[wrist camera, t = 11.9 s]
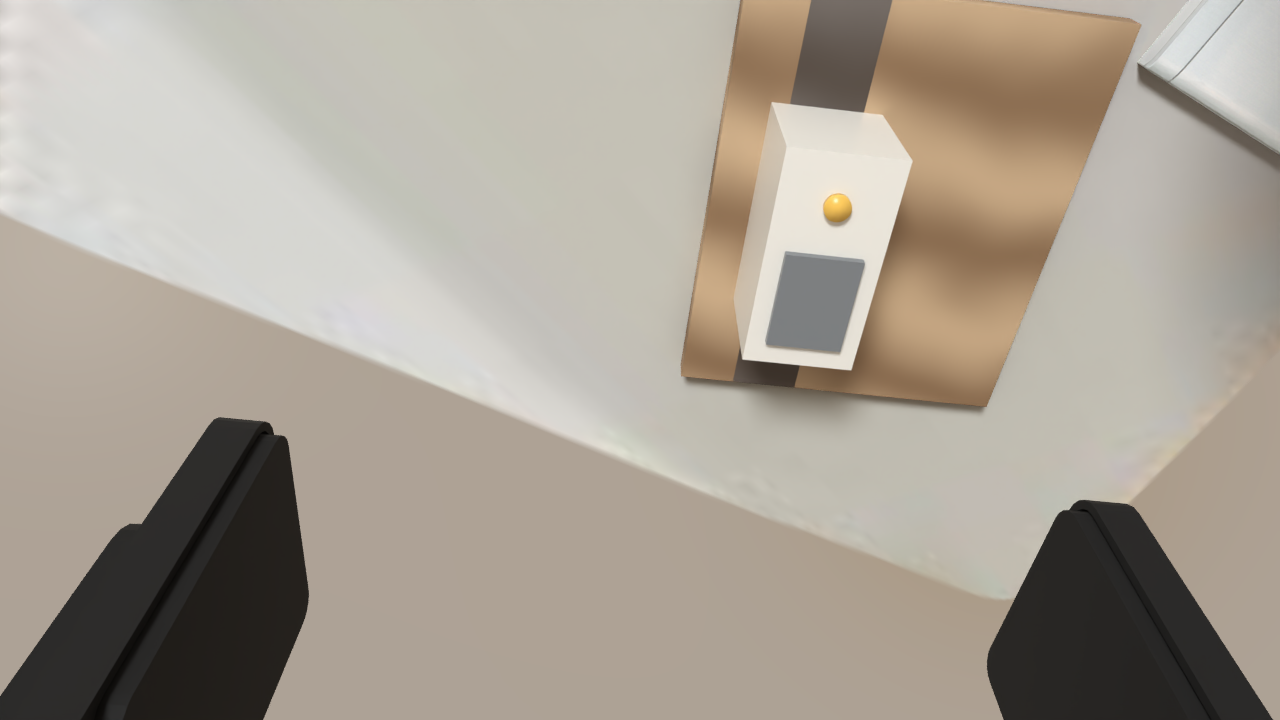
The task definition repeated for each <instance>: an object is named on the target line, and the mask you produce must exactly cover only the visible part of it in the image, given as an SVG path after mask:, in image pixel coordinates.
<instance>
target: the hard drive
mask: <svg viewBox="0 0 1280 720" xmlns="http://www.w3.org/2000/svg"><path fill="white" fill-rule="evenodd" d="M1137 63H1138V64H1140V65H1141V66H1143V67H1144V68H1145V69H1147V70H1148V71H1150V72H1151V73H1153V74H1154V75H1156V76H1157V77H1159V78H1161V79H1162V80H1164V81H1166V82H1167V83H1168V84H1170V85H1172V86H1173V87H1175V88H1176V89H1178V90H1179V91H1181V92H1182V93H1184V94H1185V95H1187V96H1188V97H1190V98H1192V99H1193V100H1195V101H1196V102H1198V103H1199V104H1201V105H1202V106H1204V107H1206V108H1207V109H1209V110H1210V111H1212V112H1213V113H1215V114H1216V115H1218V116H1219V117H1221V118H1223V119H1224V120H1226V121H1227V122H1229V123H1230V124H1232V125H1234V126H1235V127H1237V128H1238V129H1240V130H1241V131H1243V132H1244V133H1246V134H1247V135H1249V136H1251V137H1252V138H1254V139H1255V140H1257V141H1258V142H1260V143H1261V144H1263V145H1265V146H1266V147H1268V148H1269V149H1271V150H1272V151H1274V152H1276V153H1277V154H1279V155H1280V0H1188V2H1187V3H1186V4H1185V5H1184V6H1183V8H1182V9H1181V10H1180V11H1179V13H1178V14H1177V15H1176V16H1175V17H1174V19H1173V20H1172V21H1171V22H1170V23H1169V25H1168V26H1167V27H1166V28H1165V30H1164V31H1163V32H1162V33H1161V34H1160V36H1159V37H1158V38H1157V39H1156V40H1155V42H1154V43H1153V44H1152V45H1151V46H1150V48H1149V49H1148V50H1147V51H1146V52H1145V54H1144V55H1143V56H1142V57H1141V58H1140V59H1139V61H1138V62H1137Z"/></svg>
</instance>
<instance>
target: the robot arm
mask: <svg viewBox="0 0 1280 720" xmlns="http://www.w3.org/2000/svg"><path fill="white" fill-rule="evenodd" d="M308 598H309V590H308V582H307V575H306V568H305V561H304V554H303V546H302V539H301V532H300V525H299V518H298V510H297V503H296V496H295V489H294V482H293V474H292V467H291V460H290V453H289V445H288V441H287V439H286V438H285V437H284V436H279V435H274V433H273V428H272V427H271V425H270V423H267V422H263V421H252V420H242V419H231V418H221V417H220V418H217V419H214V420H213V422H212V423H211V424H210V425H209V426H208V428H207V429H206V430H205V432H204V434H203V435H202V436H201V438H200V439H199V441H198V442H197V444H196V445H195V447H194V448H193V450H192V451H191V453H190V454H189V455H188V457H187V458H186V460H185V461H184V463H183V464H182V466H181V467H180V469H179V470H178V472H177V473H176V474H175V476H174V477H173V479H172V480H171V482H170V483H169V485H168V486H167V488H166V489H165V491H164V492H163V494H162V495H161V496H160V498H159V499H158V501H157V502H156V504H155V505H154V507H153V508H152V510H151V511H150V513H149V514H148V515H147V517H146V519H145V520H144V521H143V523H142V524H129V525H127V526H125V527H124V528H122V529H120V530H119V532H118V533H117V534H116V535H115V536H114V537H113V538H112V539H111V541H110V542H109V543H108V545H107V546H106V548H105V549H104V551H103V552H102V553H101V555H100V556H99V558H98V559H97V560H96V562H95V563H94V565H93V566H92V568H91V569H90V570H89V572H88V573H87V574H86V576H85V577H84V579H83V580H82V581H81V583H80V584H79V586H78V587H77V589H76V590H75V591H74V593H73V594H72V596H71V597H70V598H69V600H68V601H67V603H66V604H65V605H64V607H63V608H62V610H61V611H60V613H59V614H58V615H57V617H56V618H55V620H54V621H53V622H52V624H51V625H50V627H49V628H48V630H47V631H46V632H45V634H44V635H43V637H42V638H41V639H40V641H39V642H38V644H37V645H36V646H35V648H34V649H33V651H32V652H31V654H30V655H29V656H28V658H27V659H26V661H25V662H24V663H23V665H22V666H21V668H20V669H19V670H18V672H17V673H16V675H15V676H14V678H13V679H12V680H11V682H10V683H9V684H8V686H7V688H6V689H5V690H4V692H3V693H2V694H1V696H0V720H263V718H264V716H265V714H266V711H267V709H268V707H269V704H270V702H271V699H272V697H273V694H274V692H275V690H276V687H277V685H278V682H279V680H280V677H281V675H282V673H283V670H284V668H285V665H286V663H287V660H288V658H289V656H290V653H291V651H292V649H293V646H294V644H295V641H296V639H297V637H298V634H299V632H300V629H301V627H302V624H303V622H304V619H305V615H306V612H307V606H308ZM987 670H988V677H989V680H990V683H991V686H992V689H993V691H994V694H995V697H996V700H997V702H998V705H999V708H1000V711H1001V713H1002V716H1003V719H1004V720H1273V719H1272V718H1271V716H1270V715H1269V713H1268V711H1267V710H1266V708H1265V707H1264V705H1263V704H1262V702H1261V701H1260V699H1259V698H1258V696H1257V695H1256V693H1255V691H1254V690H1253V689H1252V687H1251V685H1250V684H1249V682H1248V681H1247V679H1246V678H1245V676H1244V674H1243V673H1242V671H1241V670H1240V668H1239V667H1238V665H1237V664H1236V662H1235V661H1234V659H1233V658H1232V656H1231V655H1230V653H1229V651H1228V650H1227V648H1226V647H1225V645H1224V644H1223V642H1222V641H1221V639H1220V637H1219V636H1218V634H1217V633H1216V631H1215V630H1214V628H1213V627H1212V625H1211V624H1210V622H1209V621H1208V619H1207V617H1206V616H1205V614H1204V613H1203V611H1202V610H1201V608H1200V607H1199V605H1198V604H1197V602H1196V601H1195V599H1194V597H1193V596H1192V594H1191V593H1190V591H1189V590H1188V589H1187V587H1186V585H1185V584H1184V582H1183V580H1182V579H1181V578H1180V576H1179V574H1178V573H1177V571H1176V570H1175V568H1174V567H1173V565H1172V564H1171V562H1170V561H1169V559H1168V558H1167V556H1166V554H1165V553H1164V551H1163V550H1162V548H1161V547H1160V545H1159V544H1158V542H1157V540H1156V539H1155V537H1154V536H1153V534H1152V533H1151V531H1150V530H1149V528H1148V527H1147V525H1146V523H1145V522H1144V521H1143V519H1142V517H1141V516H1140V514H1139V513H1138V512H1137V511H1136V509H1135V508H1134V507H1132V506H1130V505H1128V504H1121V503H1111V502H1100V501H1090V500H1079V501H1077V502H1076V503H1074V504H1073V506H1072V507H1071V508H1070V510H1063V511H1062V512H1060V513H1059V514H1058V515H1057V517H1056V518H1055V520H1054V522H1053V524H1052V526H1051V528H1050V530H1049V532H1048V534H1047V536H1046V538H1045V540H1044V542H1043V544H1042V546H1041V548H1040V550H1039V552H1038V554H1037V556H1036V558H1035V560H1034V562H1033V564H1032V566H1031V568H1030V570H1029V572H1028V574H1027V576H1026V578H1025V580H1024V582H1023V584H1022V586H1021V588H1020V590H1019V592H1018V594H1017V596H1016V598H1015V600H1014V602H1013V604H1012V606H1011V608H1010V610H1009V612H1008V614H1007V616H1006V618H1005V620H1004V622H1003V624H1002V626H1001V628H1000V630H999V632H998V634H997V636H996V638H995V640H994V642H993V644H992V646H991V648H990V650H989V653H988V659H987Z"/></svg>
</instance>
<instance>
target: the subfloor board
mask: <svg viewBox="0 0 1280 720" xmlns="http://www.w3.org/2000/svg"><path fill="white" fill-rule="evenodd" d="M1140 27H1141V24H1139V23H1137V22H1135V21H1133V20H1132V19H1130V18H1121V17H1113V16H1105V15H1097V14H1089V13H1081V12H1072V11H1064V10H1056V9H1048V8H1040V7H1032V6H1024V5H1015V4H1007V3H999V2H991V1H983V0H741V1H740V7H739V13H738V19H737V25H736V31H735V37H734V43H733V49H732V55H731V62H730V68H729V74H728V80H727V86H726V92H725V98H724V104H723V110H722V116H721V123H720V129H719V135H718V141H717V147H716V153H715V159H714V165H713V171H712V177H711V184H710V190H709V196H708V202H707V208H706V214H705V220H704V226H703V232H702V238H701V244H700V251H699V257H698V263H697V269H696V275H695V281H694V287H693V293H692V299H691V305H690V312H689V318H688V324H687V330H686V336H685V342H684V348H683V354H682V360H681V376H684V377H694V378H704V379H714V380H724V381H734V382H744V383H754V384H764V385H774V386H784V387H794V388H804V389H814V390H824V391H834V392H844V393H854V394H864V395H874V396H884V397H894V398H904V399H914V400H924V401H934V402H944V403H954V404H964V405H974V406H984V407H986V406H987V404H988V401H989V399H990V397H991V394H992V392H993V389H994V387H995V384H996V382H997V379H998V377H999V374H1000V372H1001V369H1002V367H1003V365H1004V362H1005V360H1006V357H1007V355H1008V352H1009V350H1010V347H1011V345H1012V342H1013V340H1014V337H1015V335H1016V332H1017V330H1018V328H1019V325H1020V323H1021V320H1022V318H1023V315H1024V313H1025V310H1026V308H1027V305H1028V303H1029V300H1030V298H1031V296H1032V293H1033V291H1034V288H1035V286H1036V283H1037V281H1038V278H1039V276H1040V273H1041V271H1042V268H1043V266H1044V264H1045V261H1046V259H1047V256H1048V254H1049V251H1050V249H1051V246H1052V244H1053V241H1054V239H1055V236H1056V234H1057V232H1058V229H1059V227H1060V224H1061V222H1062V219H1063V217H1064V214H1065V212H1066V209H1067V207H1068V204H1069V202H1070V200H1071V197H1072V195H1073V192H1074V190H1075V187H1076V185H1077V182H1078V180H1079V177H1080V175H1081V172H1082V170H1083V167H1084V165H1085V163H1086V160H1087V158H1088V155H1089V153H1090V150H1091V148H1092V145H1093V143H1094V140H1095V138H1096V135H1097V133H1098V131H1099V128H1100V126H1101V123H1102V121H1103V118H1104V116H1105V113H1106V111H1107V108H1108V106H1109V103H1110V101H1111V99H1112V96H1113V94H1114V91H1115V89H1116V86H1117V84H1118V81H1119V79H1120V76H1121V74H1122V71H1123V69H1124V67H1125V64H1126V62H1127V59H1128V57H1129V54H1130V52H1131V49H1132V47H1133V44H1134V42H1135V39H1136V37H1137V34H1138V32H1139V30H1140ZM771 102H775V103H784V104H792V105H801V106H810V107H818V108H827V109H836V110H844V111H853V112H862V113H870V114H879V115H883V116H884V118H885V119H886V121H887V122H888V124H889V125H890V127H891V128H892V130H893V131H894V133H895V135H896V136H897V138H898V139H899V141H900V142H901V144H902V145H903V147H904V148H905V150H906V151H907V153H908V154H909V156H910V157H911V159H912V160H913V162H912V165H911V168H910V172H909V175H908V179H907V182H906V185H905V189H904V192H903V196H902V199H901V202H900V206H899V209H898V213H897V216H896V220H895V223H894V226H893V230H892V233H891V237H890V240H889V243H888V247H887V250H886V254H885V257H884V260H883V264H882V267H881V271H880V274H879V278H878V281H877V284H876V288H875V291H874V295H873V298H872V301H871V305H870V308H869V312H868V315H867V318H866V322H865V325H864V329H863V332H862V336H861V339H860V342H859V346H858V349H857V353H856V356H855V359H854V363H853V366H852V370H842V369H832V368H822V367H812V366H802V365H792V364H783V363H773V362H763V361H753V360H743V359H742V354H741V347H740V340H739V333H738V326H737V320H736V313H735V306H734V299H733V298H734V293H735V288H736V283H737V277H738V272H739V267H740V262H741V257H742V252H743V246H744V241H745V236H746V231H747V226H748V221H749V215H750V210H751V205H752V200H753V195H754V190H755V184H756V179H757V174H758V169H759V164H760V159H761V153H762V148H763V143H764V138H765V133H766V128H767V122H768V117H769V112H770V107H771Z"/></svg>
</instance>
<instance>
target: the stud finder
mask: <svg viewBox="0 0 1280 720" xmlns="http://www.w3.org/2000/svg"><path fill="white" fill-rule="evenodd" d="M912 162H913V160H912V159H911V157H910V156H909V154H908V153H907V151H906V150H905V148H904V147H903V145H902V144H901V142H900V141H899V139H898V138H897V136H896V135H895V133H894V131H893V130H892V128H891V127H890V125H889V124H888V122H887V121H886V119H885V118H884V116H883V115H879V114H870V113H862V112H853V111H844V110H836V109H827V108H818V107H810V106H801V105H792V104H784V103H775V102H771V107H770V112H769V117H768V122H767V128H766V133H765V138H764V143H763V148H762V153H761V159H760V164H759V169H758V174H757V179H756V184H755V190H754V195H753V200H752V205H751V210H750V215H749V221H748V226H747V231H746V236H745V241H744V246H743V252H742V257H741V262H740V267H739V272H738V277H737V283H736V288H735V293H734V298H733V299H734V306H735V313H736V320H737V326H738V333H739V340H740V347H741V354H742V359H743V360H753V361H763V362H773V363H783V364H792V365H802V366H812V367H822V368H832V369H842V370H852V366H853V363H854V359H855V356H856V353H857V349H858V346H859V342H860V339H861V336H862V332H863V329H864V325H865V322H866V318H867V315H868V312H869V308H870V305H871V301H872V298H873V295H874V291H875V288H876V284H877V281H878V278H879V274H880V271H881V267H882V264H883V260H884V257H885V254H886V250H887V247H888V243H889V240H890V237H891V233H892V230H893V226H894V223H895V220H896V216H897V213H898V209H899V206H900V202H901V199H902V196H903V192H904V189H905V185H906V182H907V179H908V175H909V172H910V168H911V165H912Z"/></svg>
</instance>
